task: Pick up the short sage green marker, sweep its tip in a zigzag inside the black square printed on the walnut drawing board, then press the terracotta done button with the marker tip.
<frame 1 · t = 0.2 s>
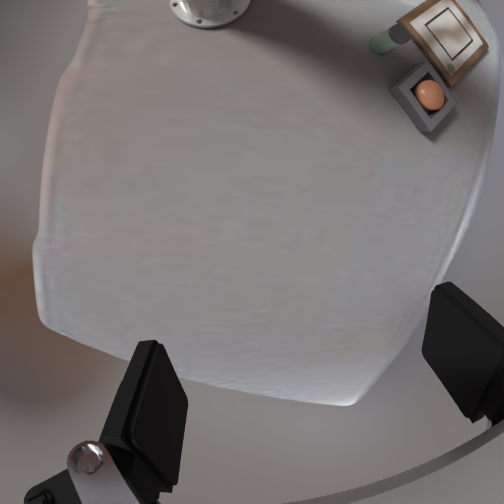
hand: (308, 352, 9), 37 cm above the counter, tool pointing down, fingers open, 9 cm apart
sage green marker: (378, 46, 36), on the counter
drawing board: (446, 34, 34), on the counter
done button: (429, 95, 36), point 3 cm above the counter, slide at 0.0 cm
button housing: (419, 96, 39), on the counter
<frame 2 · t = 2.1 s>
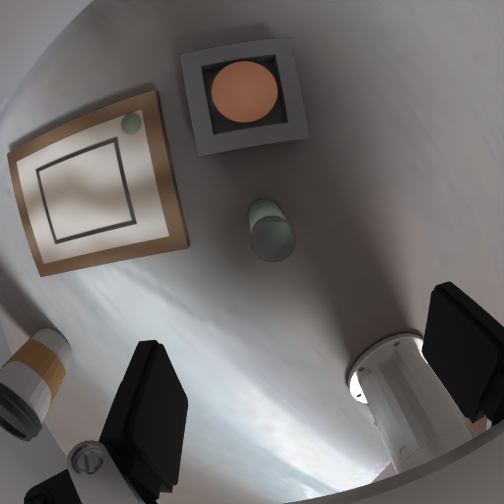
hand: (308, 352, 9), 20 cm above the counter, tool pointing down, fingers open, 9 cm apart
sage green marker: (264, 214, 28), on the counter
drawing board: (87, 191, 26), on the counter
done button: (244, 92, 21), point 3 cm above the counter, slide at 0.0 cm
button housing: (243, 99, 24), on the counter
coffee cup: (55, 344, 33), on the counter
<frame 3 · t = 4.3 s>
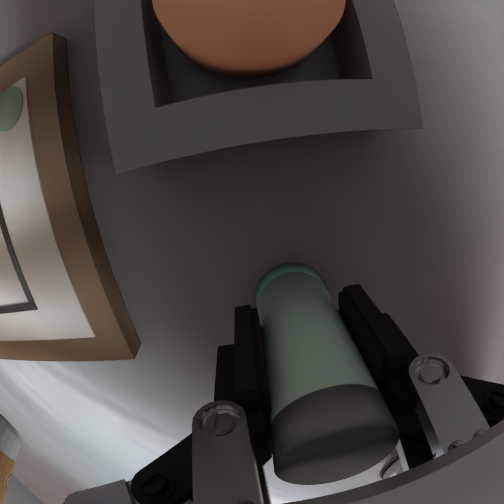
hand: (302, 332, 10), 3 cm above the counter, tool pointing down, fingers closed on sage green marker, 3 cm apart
sage green marker: (290, 295, 13), on the counter, touching gripper
button housing: (245, 33, 9), on the counter
coffee cup: (0, 422, 18), on the counter
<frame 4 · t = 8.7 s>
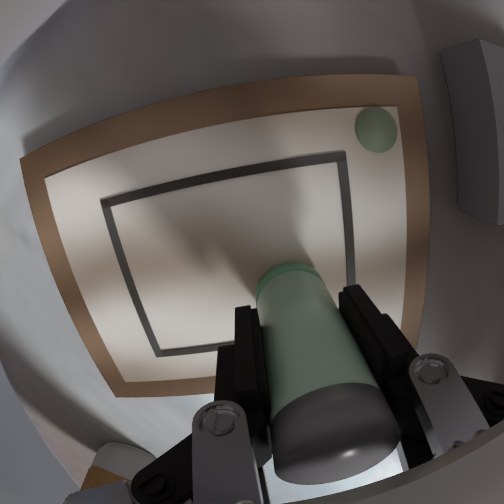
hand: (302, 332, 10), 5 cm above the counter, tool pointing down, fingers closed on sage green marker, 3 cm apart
sage green marker: (290, 294, 13), point 2 cm above the counter, touching gripper
drawing board: (237, 257, 14), on the counter
button housing: (500, 131, 12), on the counter
coffee cup: (131, 456, 21), on the counter
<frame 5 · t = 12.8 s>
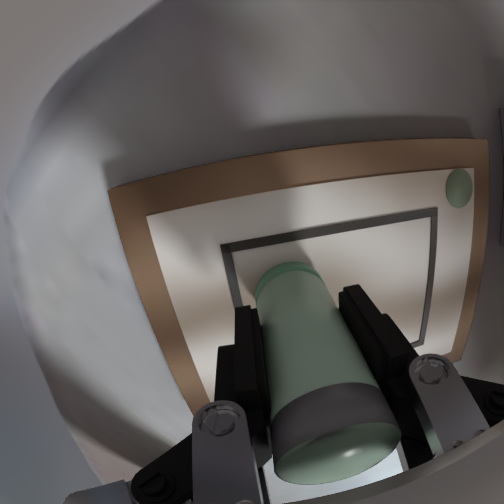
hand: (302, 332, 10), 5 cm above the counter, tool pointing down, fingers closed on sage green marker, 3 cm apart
sage green marker: (290, 293, 13), point 2 cm above the counter, touching gripper
drawing board: (337, 293, 15), on the counter
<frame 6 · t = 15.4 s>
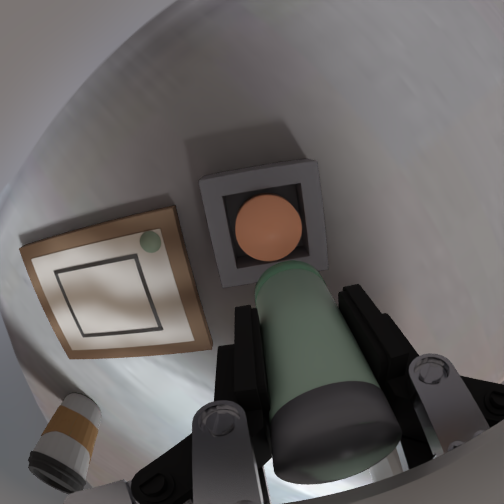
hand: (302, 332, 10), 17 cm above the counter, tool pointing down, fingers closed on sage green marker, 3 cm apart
sage green marker: (289, 292, 13), point 14 cm above the counter, touching gripper
drawing board: (109, 294, 28), on the counter
done button: (267, 226, 23), point 3 cm above the counter, slide at 0.0 cm
button housing: (264, 216, 26), on the counter
coffee cup: (84, 404, 35), on the counter
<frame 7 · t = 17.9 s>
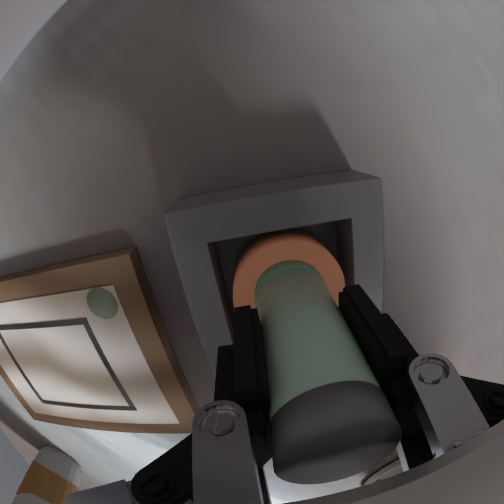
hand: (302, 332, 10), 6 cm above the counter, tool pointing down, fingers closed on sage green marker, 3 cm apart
sage green marker: (289, 292, 13), point 4 cm above the counter, touching gripper
drawing board: (64, 359, 18), on the counter
done button: (287, 285, 14), point 3 cm above the counter, slide at 0.7 cm
button housing: (280, 264, 16), on the counter
coffee cup: (62, 457, 25), on the counter
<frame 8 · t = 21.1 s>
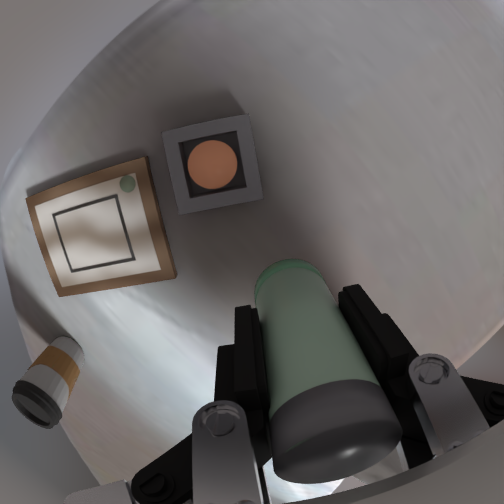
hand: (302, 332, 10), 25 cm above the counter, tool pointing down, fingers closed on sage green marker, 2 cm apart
sage green marker: (289, 291, 13), point 22 cm above the counter, touching gripper
drawing board: (95, 233, 34), on the counter
done button: (213, 163, 30), point 2 cm above the counter, slide at 0.7 cm
button housing: (214, 162, 32), on the counter
coffee cup: (70, 349, 41), on the counter
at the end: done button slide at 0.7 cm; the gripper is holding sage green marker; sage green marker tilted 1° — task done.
